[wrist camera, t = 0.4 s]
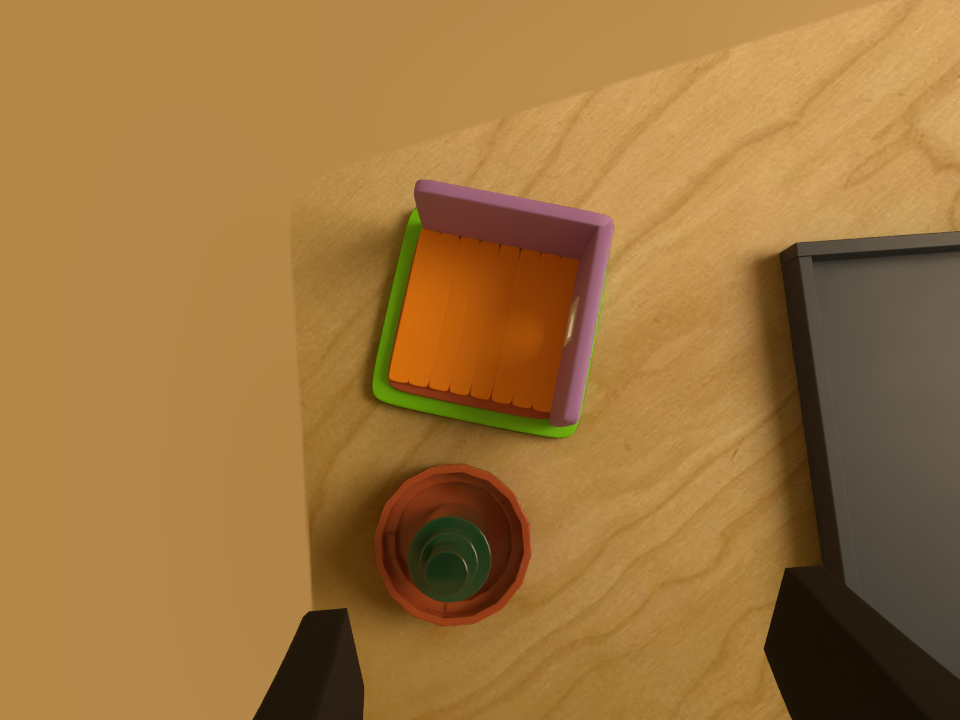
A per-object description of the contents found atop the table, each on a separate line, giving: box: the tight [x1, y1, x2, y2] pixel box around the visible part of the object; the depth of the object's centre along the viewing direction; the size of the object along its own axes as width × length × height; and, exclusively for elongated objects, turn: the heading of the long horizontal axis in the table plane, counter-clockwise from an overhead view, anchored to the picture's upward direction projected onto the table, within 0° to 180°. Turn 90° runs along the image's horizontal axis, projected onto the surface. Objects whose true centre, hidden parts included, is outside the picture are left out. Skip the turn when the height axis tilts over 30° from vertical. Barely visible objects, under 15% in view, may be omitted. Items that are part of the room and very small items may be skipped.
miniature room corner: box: [372, 180, 614, 438], centre depth 33 cm, size 12×12×7 cm
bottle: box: [407, 503, 491, 603], centre depth 30 cm, size 4×4×9 cm
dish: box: [374, 463, 531, 626], centre depth 33 cm, size 8×8×2 cm
